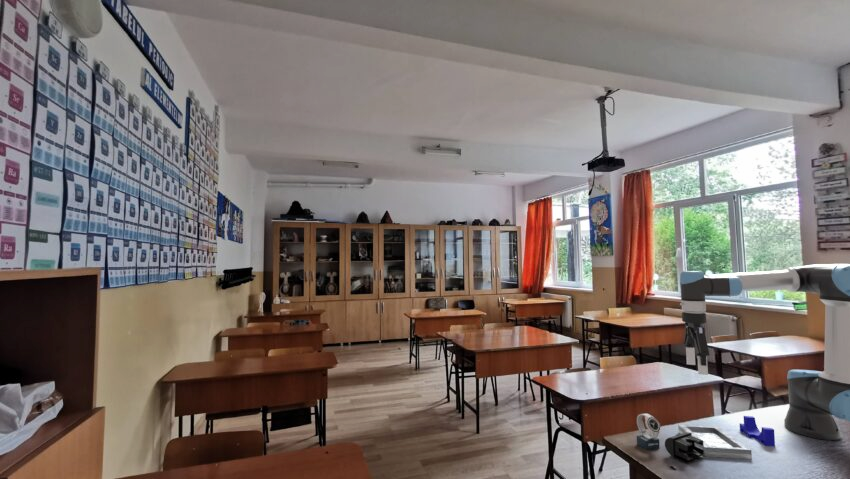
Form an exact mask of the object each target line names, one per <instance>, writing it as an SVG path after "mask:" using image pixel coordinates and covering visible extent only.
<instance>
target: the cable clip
mask: <svg viewBox="0 0 850 479" xmlns="http://www.w3.org/2000/svg"><path fill="white" fill-rule="evenodd" d="M739 431H740V432H741V433H742V434H744V435H745V436H747V438H749V439H755V440H756V441H758V442H759V443H761V444H762V445H763V446H765V447H774V448H775V447H776V439H775V438H776V436H775V429H773V428H772V427H765V426H764V427H761V431H760V429H759V428H758V425H757V423H756V417H755V416H753V415H752V416H751V415H743V423H739Z"/></svg>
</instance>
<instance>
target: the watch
mask: <svg viewBox="0 0 850 479" xmlns="http://www.w3.org/2000/svg"><path fill="white" fill-rule="evenodd" d="M643 418H644V420H645V422H644V421H643ZM644 423H645V424H644ZM636 425H637V428H638V430H639V433H640V434H638V435H637V434H636V445H637V446H639V447H641V448H642V449H644V450H646V451H649V450H656V449H660V439H659V437H658V436H659V434H660V430H661V423H660V422H659V420H658V419H657V418H655V417H654V416H653V415H651V414H649V413H647V412H646V413H640V414H638V415H637V417H636ZM647 429H648V431H649V432H650V433H647Z"/></svg>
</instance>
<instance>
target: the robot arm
mask: <svg viewBox="0 0 850 479" xmlns="http://www.w3.org/2000/svg"><path fill="white" fill-rule="evenodd" d="M679 287H680V303H679V306H681V311H682V312H681V321H682V322H683V323H684V326H685V327H684V337H683V344H684V346H685V355H686V356H685V357H686V358H685V359H686V365H690V366H691V365H692V366H696V358H697V374H698V375H703V376H704V375H706V376H708V375H709V370H708V369H709V368H708V357H709V356H710V350H709V346H708V341H707V337H706V331H705V330H706V329H705V327H702V326H701V324H706V323H707V314H706V312H707V304H706V303H707V302H706V297H737V296H740V295H741V294H742V292H760V291H783V290H784V291H785V290H786V291H788V292H789V293H795V292H798V293H799V292H800V293H810V294H817V295H819V299H818V300H819V301H821V302H822V304H824V306H825V307H824V308H825V311H824V314H825V316H824V317H825V318H824V353H823V354H824V361H823V363H824V364H823V368H824V370H823V371H819V370H812V369H811V370H810V369H790V370H788V372H787V377H786V380H787V388H788V391H787V392H788V402H789V403H788V404H789V405H788V406H789V407H788V410H787V412H786V415H785V418H784V421H783V422H784V427H785V428H786V429H787V430H788V431H791V432H792V433H795V434H799V435H801V436H805V437H808V438H813V439H819V440H823V441H824V440H826V441H836V440H837V441H838V440H840V439H841V431H840V430H839V427H838V425H837V423H836V422H837V421H836V420H835V418H837V419H839V420H844V421H847V422H850V263H815V264H807V265H800V266H791V267H785V268H783V269H781V270H769V271H768V270H765V271H751V272H750V271H747V272H731V273H713V274H705V273H704V271H701V270H683V271H681V272H680V273H679ZM695 348H696V350H695ZM696 351H697V353H696ZM696 356H697V357H696ZM834 417H835V418H834Z"/></svg>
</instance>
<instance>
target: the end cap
mask: <svg viewBox="0 0 850 479" xmlns="http://www.w3.org/2000/svg"><path fill="white" fill-rule="evenodd" d="M694 443H697V444H700V445H702V446H703V440H700V439H698V438H695V437H693V436H692V434H691V433H689V432H687V433H683V434H676V435H674V436H670V437H667V438H666V439H665V441H664V447H665V450H666V452H667V453H668V454H669V455H670V456H671V457H672V458H673V459H675V460H676V461H679V462H681V463H682V464H685V465H690V464H694V463H695V462H699V461H702V460H703V459H704V456H705V455H704V449H702V448H699V447H697V446H695V444H694Z"/></svg>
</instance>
